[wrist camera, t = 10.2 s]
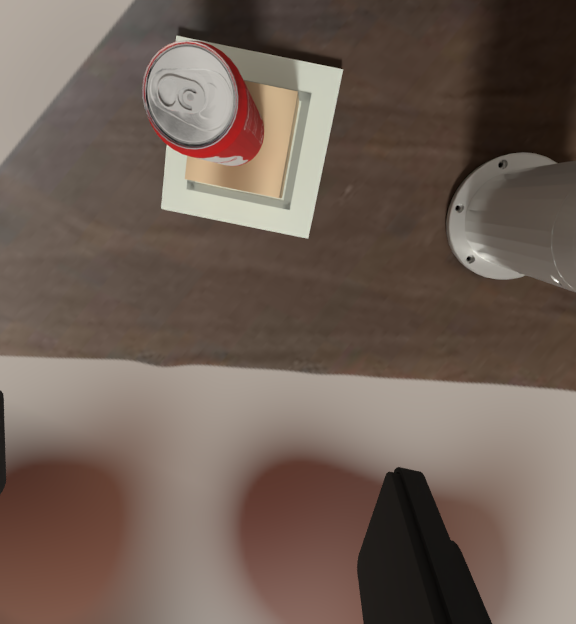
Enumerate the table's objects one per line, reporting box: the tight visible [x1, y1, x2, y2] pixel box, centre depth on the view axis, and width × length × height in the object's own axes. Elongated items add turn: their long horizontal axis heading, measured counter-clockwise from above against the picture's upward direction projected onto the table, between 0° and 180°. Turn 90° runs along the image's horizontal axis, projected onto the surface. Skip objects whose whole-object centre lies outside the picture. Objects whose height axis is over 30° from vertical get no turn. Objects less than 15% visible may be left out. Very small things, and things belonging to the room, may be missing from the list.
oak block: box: [185, 81, 299, 198], centre depth 35 cm, size 9×9×4 cm
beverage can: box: [142, 41, 264, 166], centre depth 26 cm, size 6×6×15 cm
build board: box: [161, 36, 343, 238], centre depth 38 cm, size 16×16×1 cm
